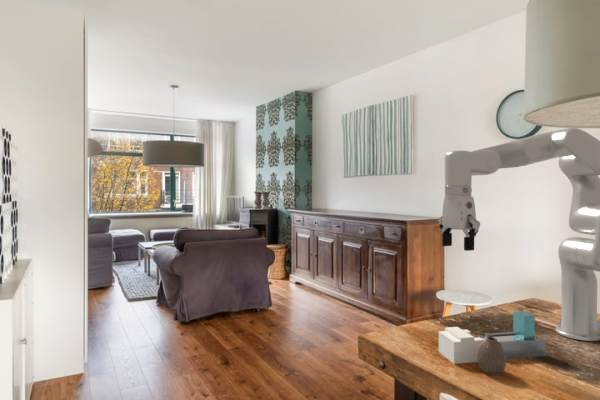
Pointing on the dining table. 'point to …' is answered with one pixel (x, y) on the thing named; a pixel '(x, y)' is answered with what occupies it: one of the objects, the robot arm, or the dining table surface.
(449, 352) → the socket block
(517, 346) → the guide channel
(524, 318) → the teal-tipped grey beam
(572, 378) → the dining table surface
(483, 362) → the vase
